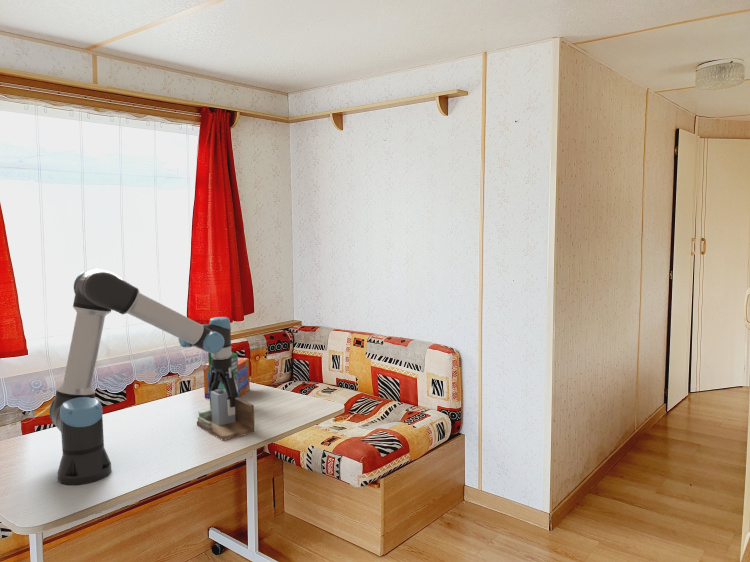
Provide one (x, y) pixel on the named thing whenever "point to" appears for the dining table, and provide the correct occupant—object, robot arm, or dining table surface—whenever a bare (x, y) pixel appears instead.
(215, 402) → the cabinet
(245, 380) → the game box
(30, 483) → the dining table surface
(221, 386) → the milk carton
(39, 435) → the dining table surface
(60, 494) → the dining table surface
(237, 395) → the robot arm
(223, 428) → the brown wooden l-shaped piece
